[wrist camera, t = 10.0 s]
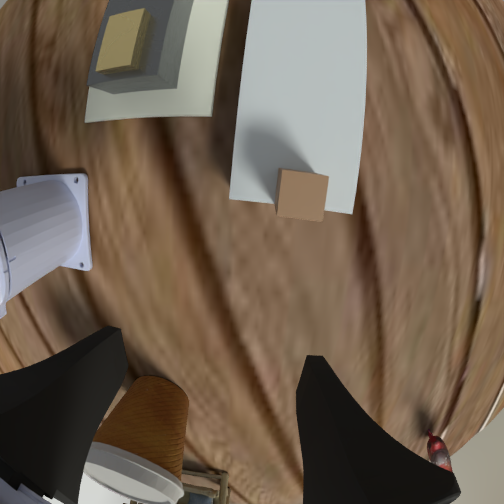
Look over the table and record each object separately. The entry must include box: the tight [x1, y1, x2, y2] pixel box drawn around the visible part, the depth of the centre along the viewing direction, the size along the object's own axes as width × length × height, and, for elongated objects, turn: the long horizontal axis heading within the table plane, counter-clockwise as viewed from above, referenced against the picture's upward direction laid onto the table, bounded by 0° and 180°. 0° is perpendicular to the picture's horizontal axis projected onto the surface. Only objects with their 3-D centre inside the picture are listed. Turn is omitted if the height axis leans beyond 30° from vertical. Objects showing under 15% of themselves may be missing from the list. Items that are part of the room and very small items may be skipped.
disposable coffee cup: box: [83, 376, 189, 504], centre depth 19 cm, size 10×10×12 cm
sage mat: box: [85, 0, 229, 123], centre depth 14 cm, size 10×12×1 cm
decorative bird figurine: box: [427, 429, 452, 472], centre depth 22 cm, size 3×18×10 cm, turn 35°
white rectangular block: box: [229, 0, 367, 222], centre depth 12 cm, size 7×16×6 cm, turn 174°
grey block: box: [87, 0, 194, 94], centre depth 12 cm, size 5×8×4 cm, turn 174°
